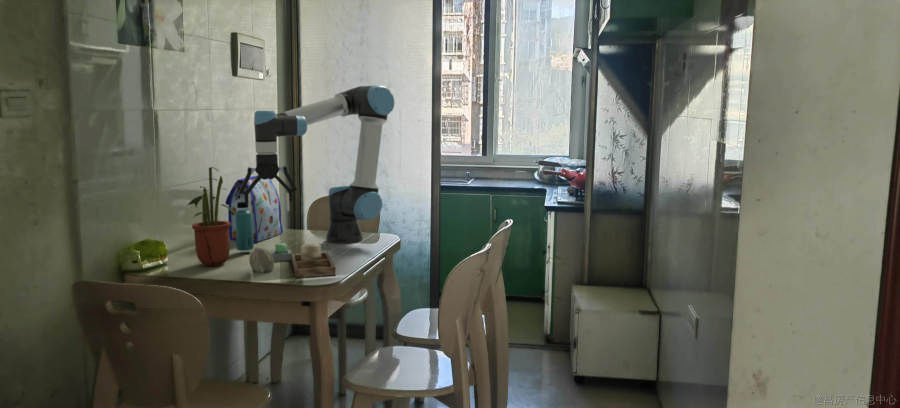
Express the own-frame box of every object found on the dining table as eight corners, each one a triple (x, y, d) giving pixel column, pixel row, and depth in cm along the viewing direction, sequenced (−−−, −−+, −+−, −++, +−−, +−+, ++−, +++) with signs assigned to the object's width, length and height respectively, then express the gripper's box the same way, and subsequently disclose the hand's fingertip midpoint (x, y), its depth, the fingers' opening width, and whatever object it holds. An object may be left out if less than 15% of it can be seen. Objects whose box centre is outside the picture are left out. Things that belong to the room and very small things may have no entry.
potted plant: (200, 260, 256) (195, 166, 252) (243, 260, 257) (238, 165, 253) (185, 271, 239) (179, 170, 234) (231, 270, 240) (225, 169, 235)
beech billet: (320, 259, 252) (319, 243, 251) (322, 264, 245) (321, 247, 244) (300, 261, 250) (300, 244, 249) (301, 265, 243) (301, 248, 242)
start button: (286, 253, 256) (286, 243, 256) (287, 255, 253) (286, 245, 252) (275, 254, 255) (275, 243, 255) (275, 256, 252) (275, 245, 251)
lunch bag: (251, 232, 314) (248, 173, 310) (285, 233, 310) (282, 173, 306) (223, 242, 292) (220, 178, 288) (259, 243, 288) (256, 179, 284)
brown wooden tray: (328, 260, 255) (327, 252, 255) (335, 276, 231) (335, 267, 231) (291, 262, 252) (291, 254, 251) (295, 279, 228) (295, 270, 228)
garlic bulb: (270, 281, 234) (272, 256, 230) (245, 278, 234) (246, 253, 229) (276, 267, 243) (278, 242, 239) (251, 264, 242) (253, 239, 238)
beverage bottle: (249, 254, 266) (246, 203, 263) (233, 254, 267) (230, 202, 265) (257, 251, 272) (254, 200, 270) (241, 250, 274) (239, 200, 271)
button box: (290, 258, 259) (290, 249, 258) (291, 262, 252) (291, 253, 251) (271, 259, 257) (271, 250, 256) (272, 264, 250) (271, 254, 250)
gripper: (300, 151, 258) (302, 208, 261) (229, 154, 250) (232, 212, 253) (303, 153, 251) (305, 211, 254) (231, 155, 243) (234, 215, 246)
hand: (269, 211), depth 254 cm, fingers open, 13 cm apart
